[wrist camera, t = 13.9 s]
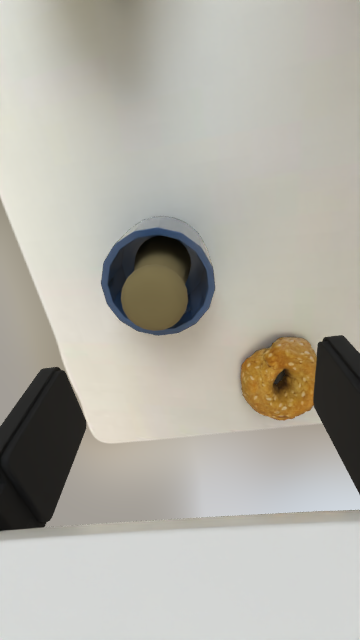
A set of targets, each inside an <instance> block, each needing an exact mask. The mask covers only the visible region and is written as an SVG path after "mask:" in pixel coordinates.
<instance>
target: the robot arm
mask: <svg viewBox="0 0 360 640" xmlns="http://www.w3.org/2000/svg"><path fill="white" fill-rule="evenodd" d="M313 403H314V407H315V409H316V411H317V413H318V415H319V417H320V419H321V421H322V423H323V425H324V427H325V429H326V431H327V433H328V434H329V436H330V438H331V440H332V442H333V444H334V446H335V448H336V450H337V452H338V454H339V456H340V457H341V459H342V461H343V463H344V465H345V467H346V469H347V471H348V473H349V475H350V476H351V479H352V480H353V482H354V484H355V486H356V488H357V490H358V492H359V494H360V353H359V352H358V351H357V350H356V349H355V348H354V347H353V346H352V345H351V344H350V342H349V341H348V340H347V339H346V338H345V337H344V336H342V335H340V336H331V337H325V338H324V339H323V342H319V343H318V348H317V360H316V371H315V382H314V394H313ZM85 430H86V420H85V417H84V415H83V413H82V410H81V408H80V406H79V403H78V401H77V398H76V396H75V394H74V392H73V389H72V387H71V384H70V382H69V380H68V377H67V375H66V373H65V371H63V370H61V369H60V368H58V367H53V368H45V369H42V370H40V372H39V373H38V374H37V376H36V377H35V379H34V380H33V381H32V383H31V384H30V386H29V387H28V389H27V390H26V391H25V393H24V394H23V395H22V397H21V398H20V400H19V401H18V402H17V404H16V405H15V407H14V408H13V410H12V411H11V412H10V414H9V415H8V417H7V418H6V419H5V421H4V422H3V424H2V425H1V426H0V640H360V510H343V511H315V512H297V513H278V514H258V515H239V516H221V517H205V518H187V519H169V520H152V521H135V522H119V523H104V524H88V525H72V526H58V527H45V524H46V522H48V521H50V519H51V518H52V516H53V513H54V511H55V508H56V505H57V503H58V500H59V498H60V495H61V492H62V490H63V487H64V485H65V482H66V479H67V477H68V474H69V472H70V469H71V467H72V464H73V461H74V459H75V456H76V453H77V451H78V448H79V445H80V443H81V440H82V438H83V435H84V433H85Z"/></svg>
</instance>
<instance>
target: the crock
mask: <svg viewBox="0 0 360 640" xmlns="http://www.w3.org/2000/svg"><path fill="white" fill-rule="evenodd" d="M155 236H165V237H169V238H174V239H176V240H178V241H180V242H181V243H182V244H183V245H184V246H185V248H186V249H187V251H188V253H189V255H190V259H191V269H190V273H189V276H188V279H187V281H186V284H185V286H186V288H187V295H188V304H187V308H186V311H185V313H184V314H183V316H182V317H181V319H180V320H179V321H178V322H177V323H176V324H175V325H173V326H172V327H170V328H167V329H165V330H157V331H152V330H146V329H143V328H141V327H139V326H137V325H135V324H134V323H133V322H132V321H131V320H129V319H128V317H127V316H126V314H125V312H124V311H123V307H122V302H121V293H122V287H123V285H124V283H125V281H126V279H127V278H128V276H130V275H131V274H132V273H133V272H134V264H135V256H136V253H137V251H138V249H139V247H140V246H141V245H142V244H143V243H144V242H145V241H146V240H148V239H150V238H152V237H155ZM101 286H102V289H103V292H104V295H105V299H106V302H107V304H108V306H109V307H110V308H111V310H112V311H113V312H114V313H115V315H116V316H117V317H118V318H119V320H120V321H122V322H123V323H125V324H127V325H128V326H130V327H132V328H133V329H135V330H137V331H138V332H143V333H148V334H153V335H157V336H159V335H167V334H174V333H179V332H181V331H183V330H185V329H187V328H189V327H190V326H192V325H194V324H196V323H197V322H198V321H199V319H200V318H201V317H202V316H203V315H204V313H205V312H206V311H207V310H208V309H209V307H210V304H211V300H212V297H213V294H214V291H215V282H214V273H213V266H212V263H211V259H210V256H209V252H208V249H207V247H206V245H205V243H204V241H203V240H202V238H201V236H200V235H199V233H198V232H197V231H196V230H195V229H193V228H192V227H191V226H190V225H188V224H187V223H185V222H183V221H181V220H179V219H176V218H172V217H166V216H158V217H152V218H148V219H144V220H143V221H141V222H139V223H138V224H136V225H135V226H134V227H132V228H131V229H129V230H128V231H127V232H126V233H125V234H124V235H123V236H122V237H121V238H120V239H119V240H118V241H117V242H116V243H115V245H114V246H113V248H112V249H111V251H110V253H109V254H108V256H107V258H106V259H105V261H104V263H103V271H102V280H101Z"/></svg>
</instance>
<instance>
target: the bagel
mask: <svg viewBox="0 0 360 640" xmlns="http://www.w3.org/2000/svg"><path fill="white" fill-rule="evenodd" d="M316 360H317V357H316V354H315V352H314V350H313V349H312V347H311V345H310V343H309V342H308V341H307V340H305V339H303V338H296V337H285V338H284V337H281V338H279V339H277V340H276V341H275V342H274V343H272V346H271V347H270V348H267V349H266V348H264V349H260V350H259V351H256V352H255V353H254V354H253V355H252V356H251V357H249V358H247V359H246V360H245V361H244V363H243V364H242V371H241V384H242V392H243V396H244V398H245V400H246V401H247V403H248V404H250V406H251V407H252V408H253V409H254V410H255V411H256V412H258V413H259V414H262V415H264V416H268V417H270V418H274V419H276V420H286V419H293V418H295V416H299V415H301V414H303V413H305V412H306V411H310V410H311V408H312V406H313V405H314V403H313V394H314V382H315V371H316ZM283 370H284V371H285V376H284V377H283V379H282V380H281V381H279V383H278V384H277V385H276V384H274V381H275V379H276V378H277V376H278V374H279V373H280V372H281V371H283Z"/></svg>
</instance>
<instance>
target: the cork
mask: <svg viewBox="0 0 360 640" xmlns="http://www.w3.org/2000/svg"><path fill="white" fill-rule="evenodd" d="M190 269H191V259H190V255H189V253H188V251H187V249H186V248H185V246H184V245H183V244H182V243H181V242H180V241H178V240H176V239H174V238H169V237H165V236H155V237H152V238H150V239H148V240H146V241H145V242H144V243H143V244H142V245H141V246H140V247H139V249H138V251H137V253H136V256H135V264H134V272H133V273H132V274H131V275H130V276H128V278H127V279H126V281H125V283H124V285H123V287H122V293H121V302H122V307H123V311H124V312H125V314H126V316H127V317H128V319H129V320H131V321H132V322H133V323H134V324H135V325H137V326H139V327H141V328H143V329H146V330H152V331H157V330H165V329H167V328H170V327H172V326H173V325H175V324H176V323H177V322H178V321H179V320H180V319H181V317H182V316H183V314H184V313H185V311H186V308H187V304H188V295H187V288H186V286H185V284H186V281H187V279H188V276H189V273H190Z"/></svg>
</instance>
